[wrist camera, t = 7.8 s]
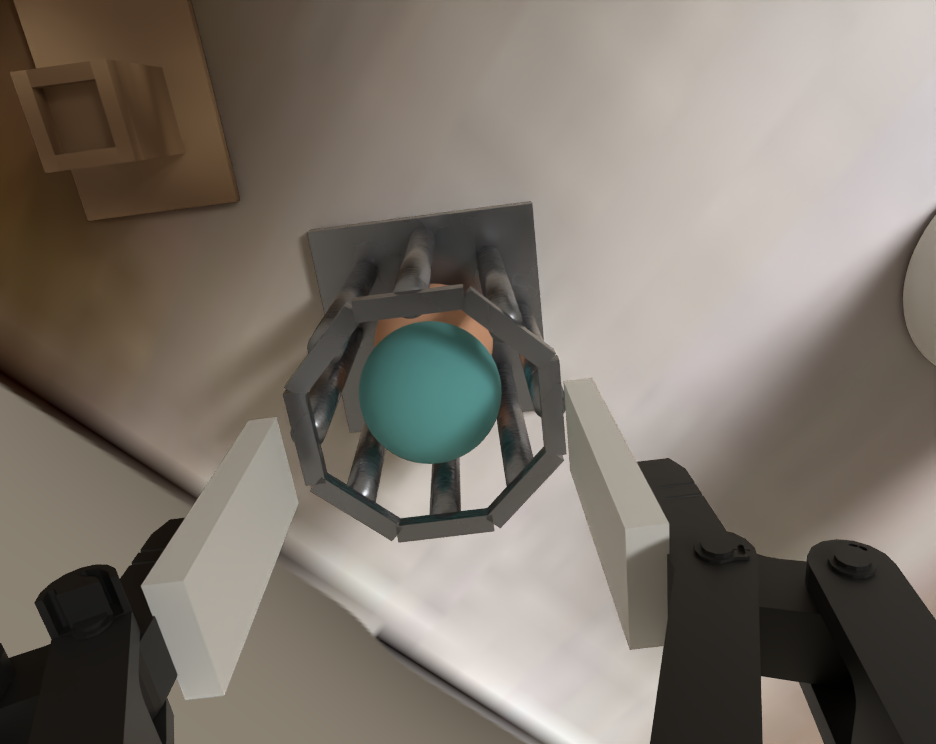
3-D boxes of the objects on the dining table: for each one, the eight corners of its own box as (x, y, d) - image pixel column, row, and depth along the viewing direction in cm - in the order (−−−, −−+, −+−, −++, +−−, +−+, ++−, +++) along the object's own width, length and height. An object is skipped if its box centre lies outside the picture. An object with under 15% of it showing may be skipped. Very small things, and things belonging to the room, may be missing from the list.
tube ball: (371, 279, 27) (356, 310, 22) (482, 264, 27) (489, 294, 22) (390, 381, 28) (379, 429, 24) (495, 369, 28) (503, 414, 24)
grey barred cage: (310, 229, 26) (234, 293, 17) (530, 201, 26) (574, 250, 17) (351, 426, 30) (307, 569, 21) (547, 402, 30) (591, 535, 20)
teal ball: (356, 311, 22) (334, 363, 18) (489, 295, 22) (499, 342, 18) (379, 429, 24) (365, 500, 20) (502, 414, 24) (514, 482, 20)
